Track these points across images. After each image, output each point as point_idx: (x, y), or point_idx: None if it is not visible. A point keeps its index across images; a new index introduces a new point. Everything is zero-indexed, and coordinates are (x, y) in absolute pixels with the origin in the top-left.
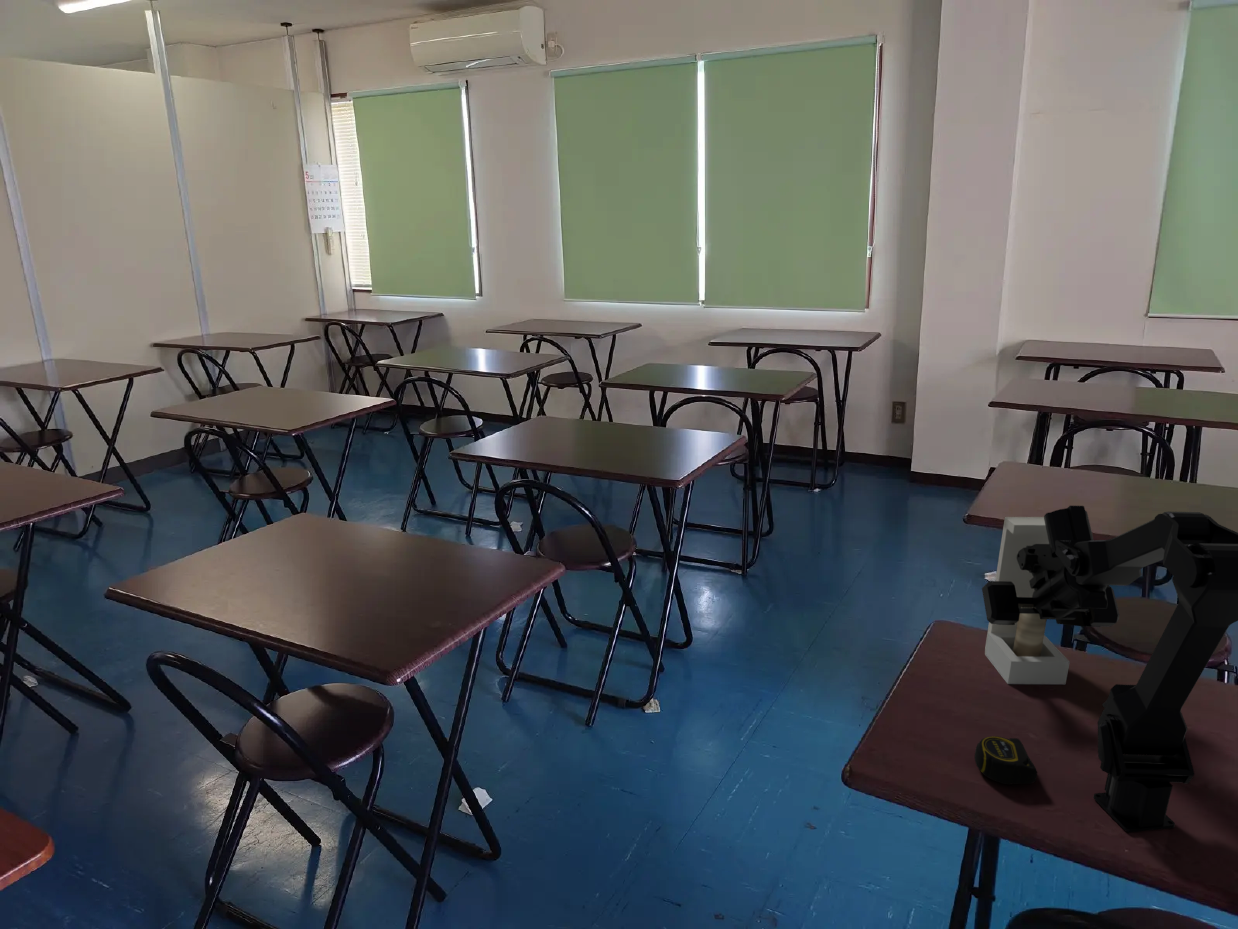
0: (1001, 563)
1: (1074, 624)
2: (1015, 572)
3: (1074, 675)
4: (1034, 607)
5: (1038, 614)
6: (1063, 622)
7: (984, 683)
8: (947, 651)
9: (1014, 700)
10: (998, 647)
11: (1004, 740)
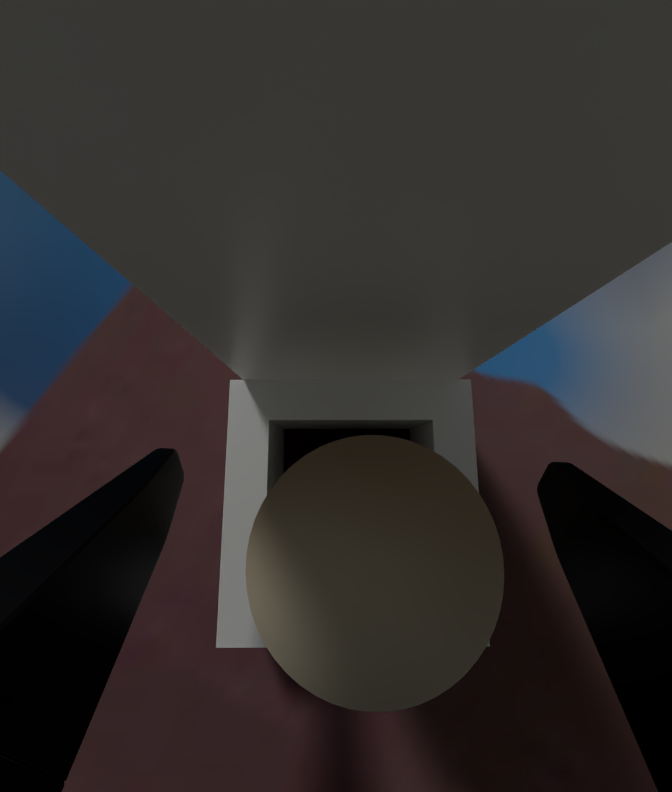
0: None
1: (655, 770)
2: (194, 17)
3: (506, 533)
4: (377, 562)
5: (360, 706)
6: (577, 580)
7: (167, 593)
8: (136, 379)
9: (221, 713)
10: (225, 498)
11: None
